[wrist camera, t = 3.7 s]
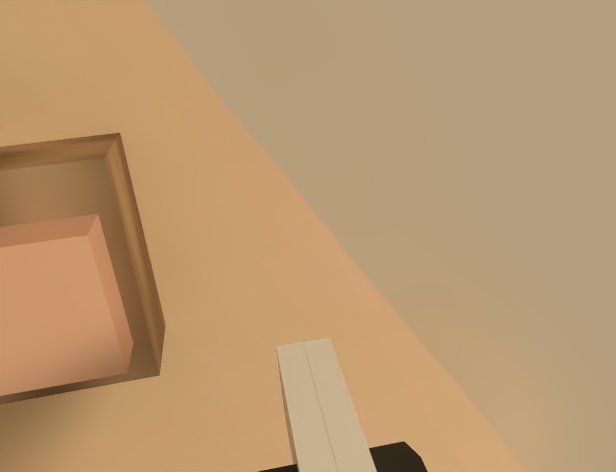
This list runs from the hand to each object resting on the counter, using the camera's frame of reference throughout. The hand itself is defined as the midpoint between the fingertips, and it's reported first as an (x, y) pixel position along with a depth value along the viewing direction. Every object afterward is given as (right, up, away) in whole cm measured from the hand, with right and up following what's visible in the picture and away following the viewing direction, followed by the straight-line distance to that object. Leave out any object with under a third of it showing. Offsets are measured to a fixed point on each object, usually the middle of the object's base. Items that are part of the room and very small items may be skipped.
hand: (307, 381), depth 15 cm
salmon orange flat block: (-12, +2, +6) cm, 13 cm away
